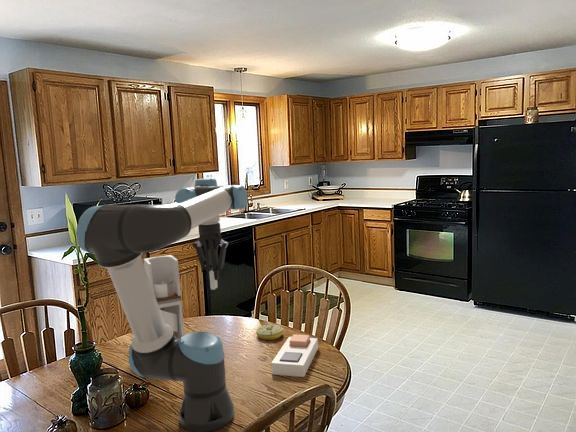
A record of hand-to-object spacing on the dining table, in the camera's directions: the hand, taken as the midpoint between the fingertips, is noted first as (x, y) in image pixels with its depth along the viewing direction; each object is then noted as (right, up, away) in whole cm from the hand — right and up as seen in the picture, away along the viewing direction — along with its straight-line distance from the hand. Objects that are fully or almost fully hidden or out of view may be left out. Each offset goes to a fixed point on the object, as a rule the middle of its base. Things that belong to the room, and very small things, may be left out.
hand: (214, 288), depth 162 cm
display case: (-21, -26, +17) cm, 37 cm away
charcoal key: (+27, -25, -7) cm, 38 cm away
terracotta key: (+31, -22, +4) cm, 38 cm away
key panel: (+29, -25, -1) cm, 39 cm away
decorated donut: (+19, -23, +22) cm, 37 cm away
